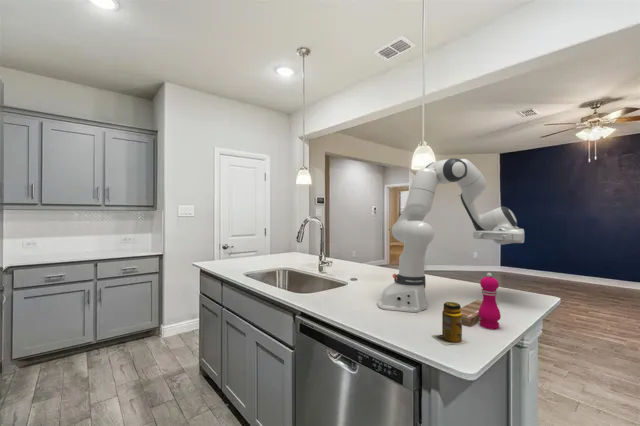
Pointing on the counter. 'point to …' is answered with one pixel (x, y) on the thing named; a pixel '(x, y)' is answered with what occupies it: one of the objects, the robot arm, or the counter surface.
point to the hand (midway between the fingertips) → (492, 236)
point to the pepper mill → (489, 303)
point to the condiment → (451, 324)
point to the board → (471, 313)
